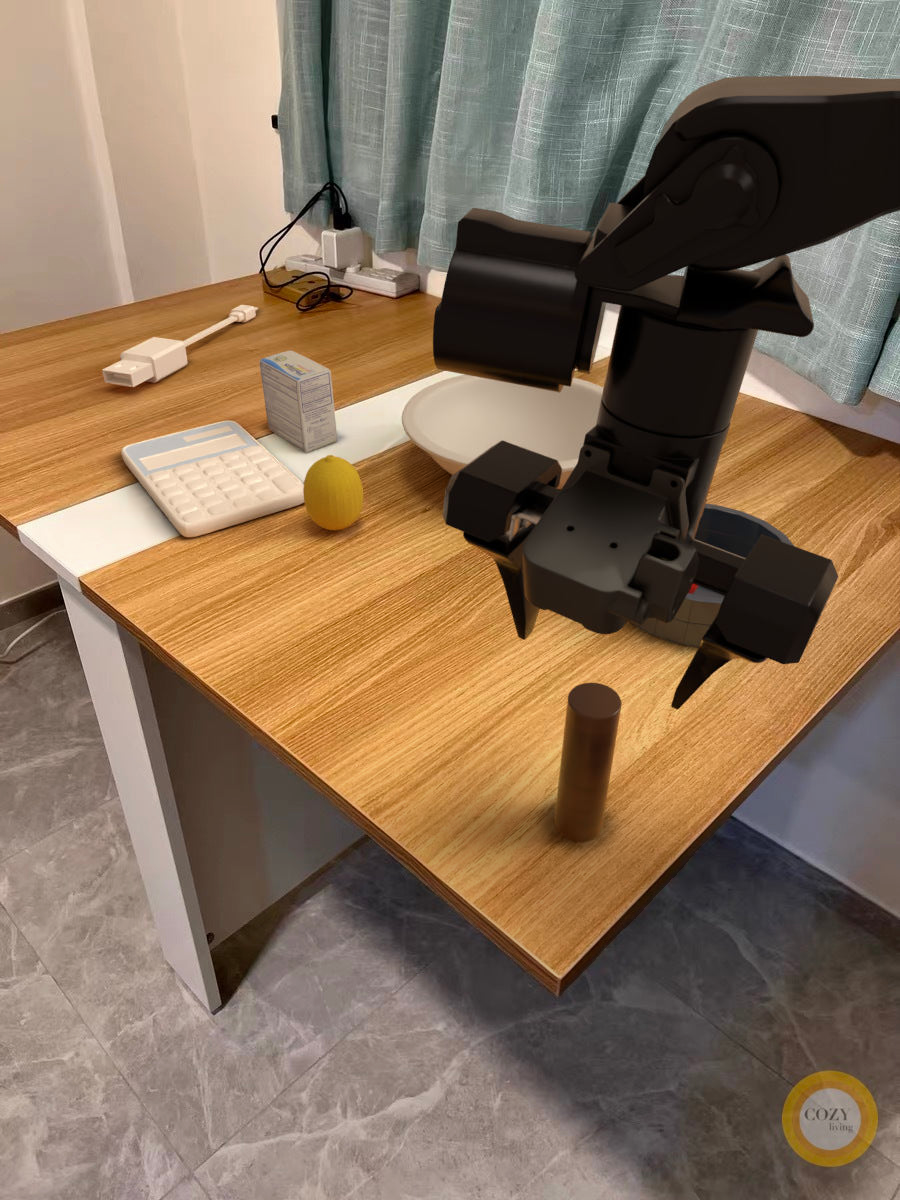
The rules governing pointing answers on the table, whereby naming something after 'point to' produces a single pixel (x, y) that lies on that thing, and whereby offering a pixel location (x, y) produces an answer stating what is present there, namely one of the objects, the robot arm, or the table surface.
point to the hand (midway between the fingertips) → (598, 668)
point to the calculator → (212, 477)
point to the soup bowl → (501, 420)
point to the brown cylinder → (586, 760)
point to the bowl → (703, 605)
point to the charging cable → (163, 354)
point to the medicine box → (299, 400)
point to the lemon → (333, 493)
